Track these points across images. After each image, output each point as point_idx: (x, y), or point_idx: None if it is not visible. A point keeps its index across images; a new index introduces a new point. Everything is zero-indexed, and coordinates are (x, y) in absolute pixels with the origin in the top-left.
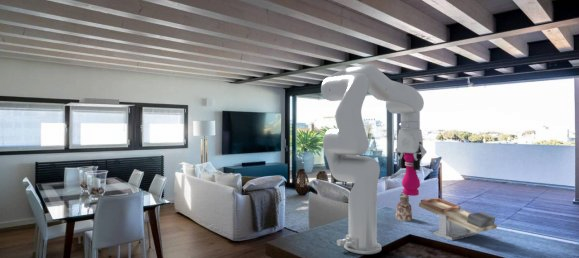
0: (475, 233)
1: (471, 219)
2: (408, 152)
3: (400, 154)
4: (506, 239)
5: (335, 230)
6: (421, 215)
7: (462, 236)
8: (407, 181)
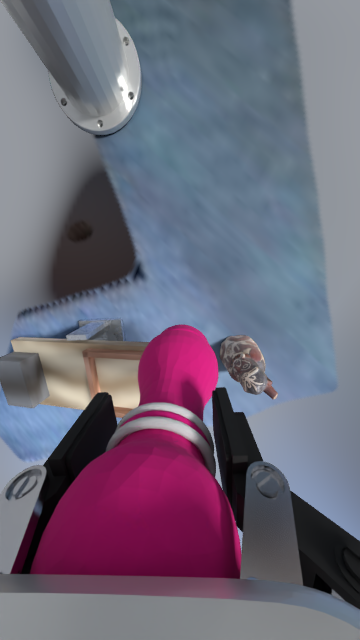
0: None
1: (21, 357)
2: (6, 589)
3: (296, 543)
4: None
5: (248, 102)
6: (239, 405)
7: None
8: (162, 342)
